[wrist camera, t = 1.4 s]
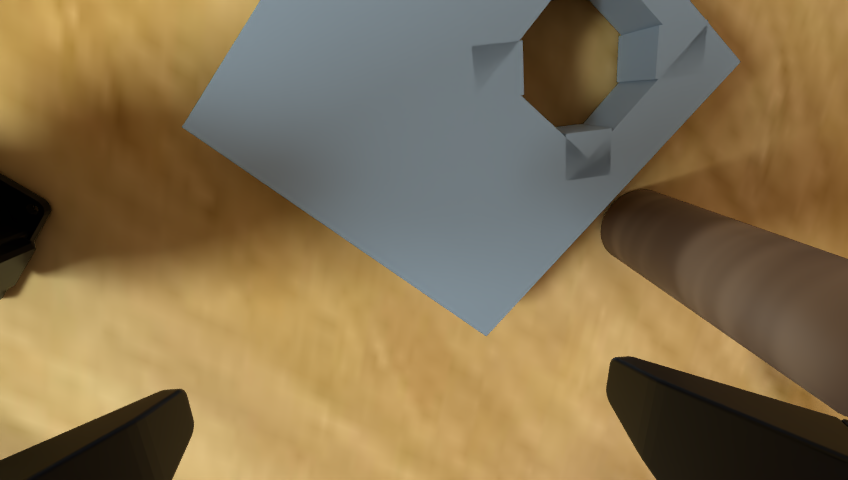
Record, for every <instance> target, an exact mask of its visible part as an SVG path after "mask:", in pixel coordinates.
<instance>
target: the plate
mask: <svg viewBox="0 0 848 480" xmlns="http://www.w3.org/2000/svg"><path fill="white" fill-rule="evenodd" d="M550 1H552V0H260V2H259V3H258V5H257V7H256V8H255V10H254V11H253V13H252V15H251V16H250V18H249V20H248V21H247V23H246V24H245V26H244V28H243V29H242V31H241V32H240V34H239V36H238V37H237V39H236V41H235V42H234V44H233V45H232V47H231V49H230V50H229V52H228V54H227V55H226V57H225V58H224V60H223V62H222V63H221V65H220V66H219V68H218V70H217V71H216V73H215V75H214V76H213V78H212V79H211V81H210V83H209V84H208V86H207V87H206V89H205V91H204V92H203V94H202V96H201V97H200V99H199V100H198V102H197V104H196V105H195V107H194V108H193V110H192V112H191V113H190V115H189V117H188V118H187V120H186V121H185V123H184V125H183V126H182V128H184V129H185V130H187V131H188V132H190V133H191V134H193V135H194V136H196V137H197V138H198V139H200V140H201V141H203V142H204V143H206V144H207V145H209V146H210V147H212V148H213V149H214V150H216V151H217V152H219V153H220V154H222V155H223V156H225V157H226V158H228V159H229V160H230V161H232V162H233V163H235V164H236V165H238V166H239V167H241V168H242V169H244V170H245V171H246V172H248V173H249V174H251V175H252V176H254V177H255V178H257V179H258V180H260V181H261V182H263V183H264V184H265V185H267V186H268V187H270V188H271V189H273V190H274V191H276V192H277V193H279V194H280V195H281V196H283V197H284V198H286V199H287V200H289V201H290V202H292V203H293V204H295V205H296V206H297V207H299V208H300V209H302V210H303V211H305V212H306V213H308V214H309V215H311V216H312V217H313V218H315V219H316V220H318V221H319V222H321V223H322V224H324V225H325V226H327V227H328V228H329V229H331V230H332V231H334V232H335V233H337V234H338V235H340V236H341V237H343V238H344V239H345V240H347V241H348V242H350V243H351V244H353V245H354V246H356V247H357V248H359V249H360V250H361V251H363V252H364V253H366V254H367V255H369V256H370V257H372V258H373V259H375V260H376V261H377V262H379V263H380V264H382V265H383V266H385V267H386V268H388V269H389V270H391V271H392V272H393V273H395V274H396V275H398V276H399V277H401V278H402V279H404V280H405V281H407V282H408V283H409V284H411V285H412V286H414V287H415V288H417V289H418V290H420V291H421V292H423V293H424V294H425V295H427V296H428V297H430V298H431V299H433V300H434V301H436V302H437V303H439V304H440V305H441V306H443V307H444V308H446V309H447V310H449V311H450V312H452V313H453V314H455V315H456V316H457V317H459V318H460V319H462V320H463V321H465V322H466V323H468V324H469V325H471V326H472V327H473V328H475V329H476V330H478V331H479V332H481V333H482V334H484V335H485V336H487V335H488V334H489V333H490V332H491V331H492V330H493V329H494V327H495V326H496V325H497V324H498V323H499V322H500V321H501V320H502V319H503V318H504V317H505V316H506V314H507V313H508V312H509V311H510V310H511V309H512V308H513V307H514V306H515V305H516V304H517V303H518V302H519V300H520V299H521V298H522V297H523V296H524V295H525V294H526V293H527V292H528V291H529V290H530V289H531V288H532V286H533V285H534V284H535V283H536V282H537V281H538V280H539V279H540V278H541V277H542V276H543V275H544V273H545V272H546V271H547V270H548V269H549V268H550V267H551V266H552V265H553V264H554V263H555V262H556V261H557V259H558V258H559V257H560V256H561V255H562V254H563V253H564V252H565V251H566V250H567V249H568V248H569V247H570V245H571V244H572V243H573V242H574V241H575V240H576V239H577V238H578V237H579V236H580V235H581V234H582V232H583V231H584V230H585V229H586V228H587V227H588V226H589V225H590V224H591V223H592V222H593V221H594V220H595V218H596V217H597V216H598V215H599V214H600V213H601V212H602V211H603V210H604V209H605V208H606V207H607V206H608V204H609V203H610V202H611V201H612V200H613V199H614V198H615V197H616V196H617V195H618V194H619V193H620V191H621V190H622V189H623V188H624V187H625V186H626V185H627V184H628V183H629V182H630V181H631V180H632V179H633V177H634V176H635V175H636V174H637V173H638V172H639V171H640V170H641V169H642V168H643V167H644V166H645V165H646V163H647V162H648V161H649V160H650V159H651V158H652V157H653V156H654V155H655V154H656V153H657V152H658V150H659V149H660V148H661V147H662V146H663V145H664V144H665V143H666V142H667V141H668V140H669V139H670V138H671V136H672V135H673V134H674V133H675V132H676V131H677V130H678V129H679V128H680V127H681V126H682V125H683V124H684V122H685V121H686V120H687V119H688V118H689V117H690V116H691V115H692V114H693V113H694V112H695V111H696V109H697V108H698V107H699V106H700V105H701V104H702V103H703V102H704V101H705V100H706V99H707V98H708V97H709V95H710V94H711V93H712V92H713V91H714V90H715V89H716V88H717V87H718V86H719V85H720V84H721V83H722V81H723V80H724V79H725V78H726V77H727V76H728V75H729V74H730V73H731V72H732V71H733V70H734V68H735V67H736V66H737V65H738V64H739V63H740V60H739V59H738V58H737V57H736V56H735V54H734V53H733V52H732V51H731V49H730V48H729V47H728V46H727V45H726V43H725V42H724V41H723V40H722V39H721V37H720V36H719V35H718V34H717V33H716V31H715V30H714V29H713V28H712V27H711V25H710V24H709V23H708V20H706V19H705V18H704V17H703V16H702V15H701V13H700V12H699V11H698V10H697V9H696V7H695V6H694V5H693V4H692V3H691V1H690V0H589V1H590V2H591V3H592V4H593V5H594V6H595V7H596V8H597V9H598V11H599V12H600V13H601V14H602V15H603V16H604V17H605V18H606V19H607V20H608V21H609V22H610V24H611V25H612V26H613V27H614V28H615V29H616V30H617V31H618V32H619V33H620V34H621V36H619V42H618V64H617V82H619V83H618V84H617V85H616V86H615V88H614V89H613V90H612V91H611V92H610V93H609V94H608V96H607V97H606V98H605V99H604V100H603V101H602V103H601V104H600V105H599V106H598V107H597V108H596V110H595V111H594V112H593V113H592V114H591V115H590V116H589V118H588V119H587V120H586V121H585V122H584V123H583V124H576V125H568V126H560V127H554V126H553V125H552V124H551V123H550V122H549V121H548V120H547V119H546V118H545V117H543V116H542V115H541V114H540V113H539V112H538V111H537V110H536V109H535V108H534V107H533V106H532V105H531V104H530V103H528V102H527V101H526V100H525V99H524V98H523V97H522V96H521V95H524V73H523V40H522V41H519V40H520V39H521V38H522V36H523V35H524V34H525V33H526V31H527V30H528V29H529V28H530V26H531V25H532V24H533V22H534V21H535V20H536V19H537V17H538V16H539V15H540V14H541V12H542V11H543V10H544V8H545V7H546V6H547V5H548V3H549V2H550Z"/></svg>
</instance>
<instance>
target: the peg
mask: <svg viewBox="0 0 848 480" xmlns="http://www.w3.org/2000/svg"><path fill="white" fill-rule="evenodd" d="M601 239H602V242H603V245H604V247H605V248H606V250H607V251H608V252H609V253H610V254H611V255H613V256H614V257H616V258H617V259H619V260H620V261H621V262H623V263H624V264H626V265H627V266H629V267H630V268H631V269H633V270H634V271H636V272H637V273H639V274H640V275H641V276H643V277H644V278H646V279H647V280H649V281H650V282H652V283H653V284H654V285H656V286H657V287H659V288H660V289H662V290H663V291H664V292H666V293H667V294H669V295H670V296H672V297H673V298H674V299H676V300H677V301H679V302H680V303H682V304H683V305H684V306H686V307H687V308H689V309H690V310H692V311H693V312H695V313H696V314H697V315H699V316H700V317H702V318H703V319H705V320H706V321H707V322H709V323H710V324H712V325H713V326H715V327H716V328H717V329H719V330H720V331H722V332H723V333H725V334H726V335H728V336H729V337H730V338H732V339H733V340H735V341H736V342H738V343H739V344H740V345H742V346H743V347H745V348H746V349H748V350H749V351H750V352H752V353H753V354H755V355H756V356H758V357H759V358H761V359H762V360H763V361H765V362H766V363H768V364H769V365H771V366H772V367H773V368H775V369H776V370H778V371H779V372H781V373H782V374H783V375H785V376H786V377H788V378H789V379H791V380H792V381H793V382H795V383H796V384H798V385H799V386H801V387H802V388H804V389H805V390H806V391H808V392H809V393H811V394H812V395H814V396H815V397H816V398H818V399H819V400H821V401H822V402H824V403H825V404H826V405H828V406H829V407H831V408H832V409H834V410H835V411H837V412H838V413H840V414H842V415H844V416H847V417H848V259H846V258H843V257H840V256H838V255H835V254H832V253H829V252H826V251H823V250H820V249H818V248H815V247H812V246H809V245H806V244H803V243H800V242H798V241H795V240H792V239H789V238H786V237H783V236H780V235H778V234H775V233H772V232H769V231H766V230H763V229H760V228H758V227H755V226H752V225H749V224H746V223H743V222H740V221H737V220H735V219H732V218H729V217H726V216H723V215H720V214H717V213H715V212H712V211H709V210H706V209H703V208H700V207H697V206H695V205H692V204H689V203H686V202H683V201H680V200H677V199H675V198H672V197H669V196H666V195H663V194H660V193H657V192H654V191H651V190H636V191H632V192H629V193H627V194H625V195H623V196H622V197H620V198H619V199H617V200H616V201H615V202H614V203H613V204H612V205H611V206H610V208H609V209H608V210H607V212H606V214H605V216H604V218H603V221H602V225H601Z"/></svg>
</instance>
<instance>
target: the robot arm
mask: <svg viewBox="0 0 848 480" xmlns="http://www.w3.org/2000/svg"><path fill="white" fill-rule="evenodd" d="M33 205H35V206H37V207H38V210H39V211H38V212H37V211H36V210H35V209H34V207H33ZM50 212H51V207H50V205H49V203H48V202H47V201H46V200H45V199H43V198H42V197H40V196H38V195H36V194H35V193H33V192H31V191H30V190H28V189H26V188H24V187H23V186H21V185H19V184H17V183H16V182H14V181H12V180H11V179H9V178H7V177H5V176H4V175H2V174H0V300H1V299H2V298H3V296H4V294H5V292H6V290H7V289H9V288H11V287H13V286H14V285H15V284H16V283H17V281H18V279H19V277H20V276H21V274H22V272H23V270H24V269H25V267H26V265H27V263H28V262H29V260H30V258H31V256H32V255H33V253H34V251H35V249H36V248H35V243H34V241H35V239H36V238H37V236H38V234H39V232H40V231H41V229H42V227H43V225H44V223H45V222H46V220H47V218H48V216H49V215H50ZM606 392H607V397H608V400H609V402H610V404H611V406H612V408H613V410H614V411H615V413H616V415H617V417H618V418H619V420H620V422H621V424H622V425H623V427H624V429H625V431H626V432H627V434H628V436H629V438H630V439H631V441H632V443H633V445H634V446H635V448H636V450H637V452H638V453H639V455H640V456H641V458H642V460H643V461H644V462H645V464H646V465H647V467H648V468H649V470H650V471H651V473H652V474H653V475H654V477H655V478H656V480H848V420H846V419H843V420H840V419H838V418H837V417H833V416H830V415H827V414H823V413H820V412H817V411H813V410H810V409H806V408H803V407H800V406H796V405H793V404H790V403H786V402H783V401H780V400H776V399H773V398H769V397H766V396H763V395H759V394H756V393H753V392H749V391H746V390H742V389H739V388H736V387H732V386H729V385H726V384H722V383H719V382H716V381H712V380H709V379H705V378H702V377H699V376H695V375H692V374H689V373H685V372H682V371H678V370H675V369H672V368H668V367H665V366H662V365H658V364H655V363H652V362H648V361H645V360H641V359H638V358H635V357H629V356H626V357H615V358H613V359H612V360H611V362H610V367H609V373H608V380H607V387H606ZM193 429H194V420H193V416H192V412H191V408H190V405H189V401H188V397H187V394H186V392H185V391H184V390H183V389H170V390H162V391H159V392H157V393H155V394H152V395H150V396H148V397H145V398H143V399H141V400H138V401H136V402H134V403H131V404H129V405H127V406H124V407H122V408H120V409H118V410H115V411H113V412H111V413H108V414H106V415H104V416H101V417H99V418H97V419H94V420H92V421H90V422H88V423H85V424H83V425H81V426H78V427H76V428H74V429H71V430H69V431H67V432H64V433H62V434H60V435H58V436H55V437H53V438H51V439H48V440H46V441H44V442H41V443H39V444H37V445H34V446H32V447H30V448H28V449H25V450H23V451H21V452H18V453H16V454H14V455H11V456H9V457H7V458H4V459H2V460H0V480H172V479H173V476H174V474H175V472H176V470H177V468H178V465H179V463H180V461H181V459H182V456H183V454H184V452H185V450H186V447H187V445H188V443H189V441H190V439H191V436H192V433H193Z"/></svg>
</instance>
